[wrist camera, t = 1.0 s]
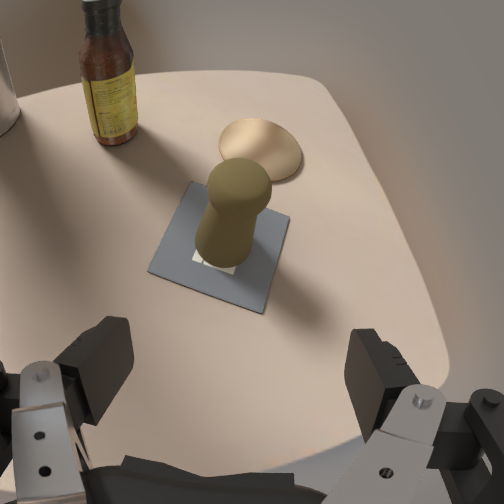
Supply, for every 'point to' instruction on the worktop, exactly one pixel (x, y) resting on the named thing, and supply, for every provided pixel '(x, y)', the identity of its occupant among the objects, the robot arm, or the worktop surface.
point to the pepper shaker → (232, 211)
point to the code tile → (211, 277)
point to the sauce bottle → (108, 73)
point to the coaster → (262, 146)
